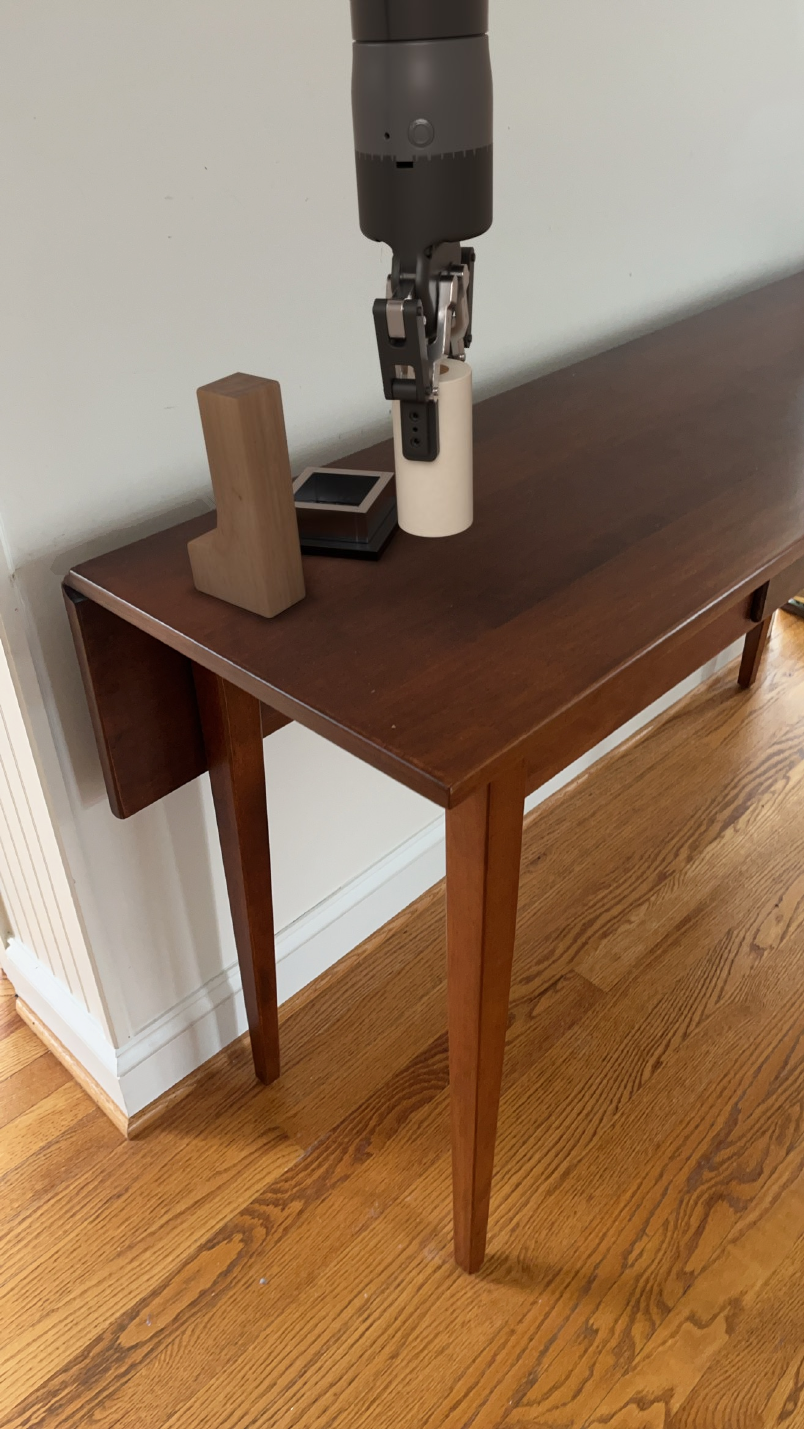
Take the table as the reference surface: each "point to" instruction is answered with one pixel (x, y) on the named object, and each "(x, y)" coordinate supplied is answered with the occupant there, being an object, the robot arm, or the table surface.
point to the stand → (345, 512)
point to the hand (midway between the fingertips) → (432, 441)
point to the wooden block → (248, 499)
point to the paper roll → (439, 462)
